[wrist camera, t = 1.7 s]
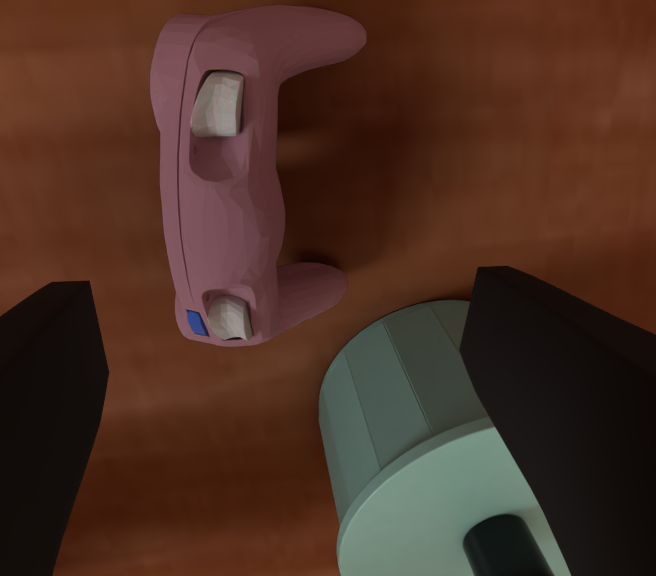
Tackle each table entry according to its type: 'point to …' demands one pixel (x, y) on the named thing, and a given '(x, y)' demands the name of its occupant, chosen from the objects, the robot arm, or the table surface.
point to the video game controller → (237, 167)
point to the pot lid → (449, 514)
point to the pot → (394, 393)
